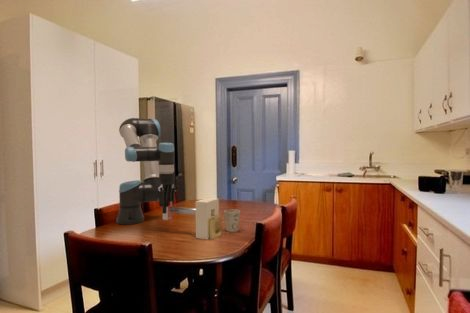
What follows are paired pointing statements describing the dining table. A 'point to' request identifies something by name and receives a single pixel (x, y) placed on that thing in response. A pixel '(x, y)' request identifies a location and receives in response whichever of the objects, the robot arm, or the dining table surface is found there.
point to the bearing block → (205, 216)
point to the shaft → (179, 210)
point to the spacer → (212, 227)
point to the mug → (232, 219)
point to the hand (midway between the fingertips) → (167, 218)
